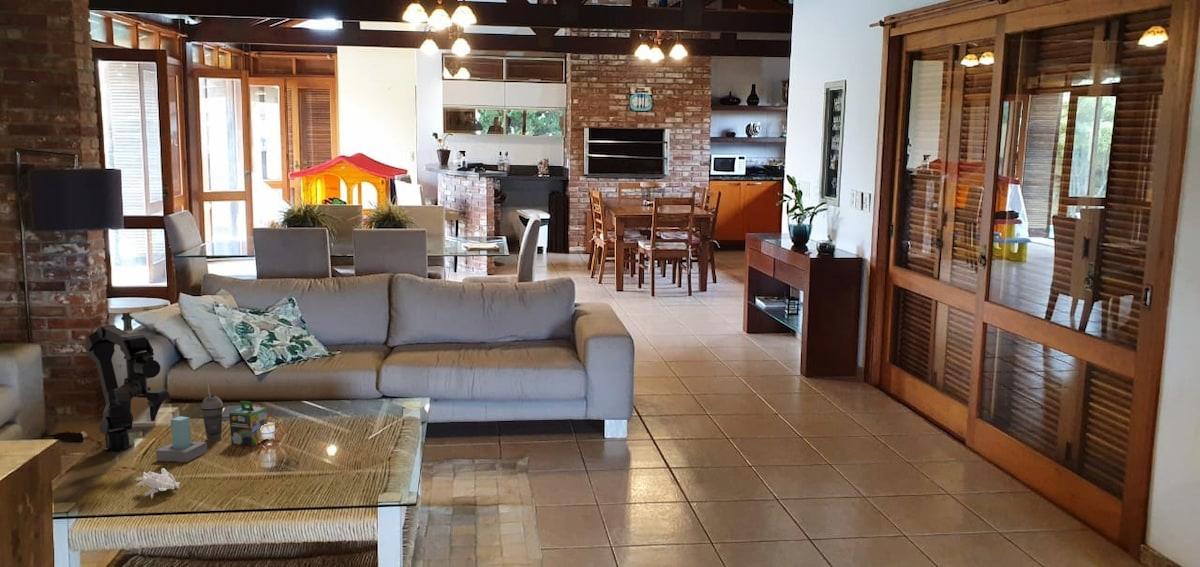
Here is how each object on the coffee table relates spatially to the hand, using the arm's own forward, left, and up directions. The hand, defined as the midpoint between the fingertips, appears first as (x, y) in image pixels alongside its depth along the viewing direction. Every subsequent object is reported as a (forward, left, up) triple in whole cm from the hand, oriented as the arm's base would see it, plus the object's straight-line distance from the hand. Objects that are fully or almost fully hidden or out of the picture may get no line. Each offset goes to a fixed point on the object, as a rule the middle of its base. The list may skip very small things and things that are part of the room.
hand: (140, 420), depth 308 cm
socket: (+11, +5, -13) cm, 18 cm away
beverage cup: (+10, +24, -13) cm, 29 cm away
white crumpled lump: (+26, -26, -13) cm, 39 cm away
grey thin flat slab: (-1, +56, -14) cm, 57 cm away
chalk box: (+24, +24, -13) cm, 36 cm away
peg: (+11, +5, -13) cm, 18 cm away
